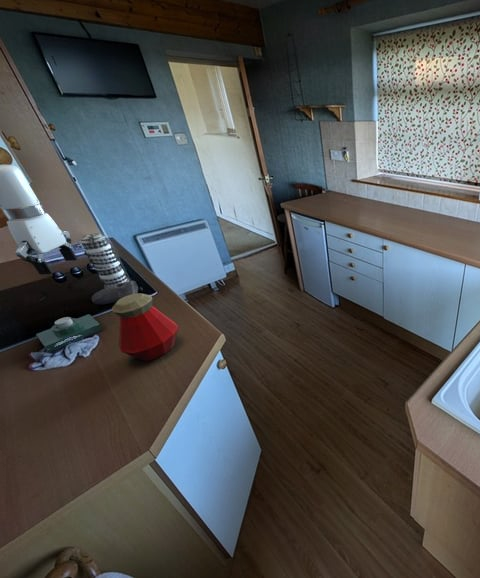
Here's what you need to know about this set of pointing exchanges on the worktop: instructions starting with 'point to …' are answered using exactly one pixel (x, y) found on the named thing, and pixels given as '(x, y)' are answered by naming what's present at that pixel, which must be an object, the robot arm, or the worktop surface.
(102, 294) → the perforated stone tool
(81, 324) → the green flat block
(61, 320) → the pump button
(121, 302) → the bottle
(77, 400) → the worktop surface
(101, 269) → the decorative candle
